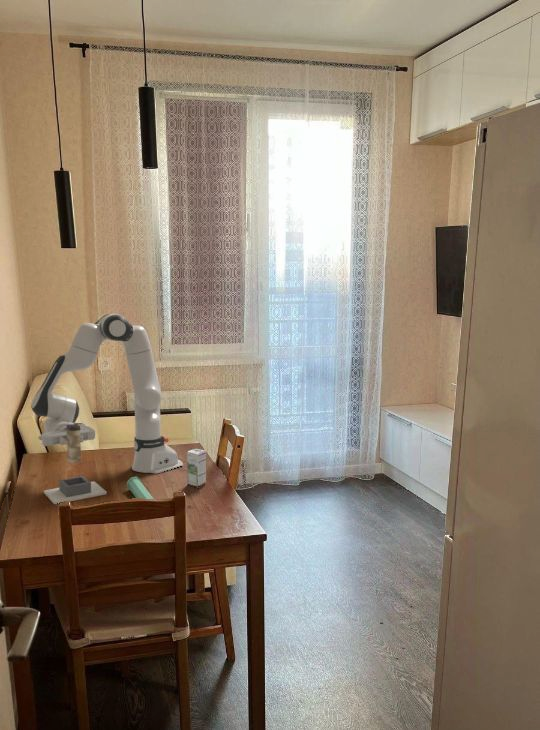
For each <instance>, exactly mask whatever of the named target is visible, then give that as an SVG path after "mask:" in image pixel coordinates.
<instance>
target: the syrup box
mask: <svg viewBox="0 0 540 730" xmlns="http://www.w3.org/2000/svg"><path fill="white" fill-rule="evenodd" d="M186 454H187V455H186V457H187V458H186V460H187V462H186V463H187V466H186V467H187V471H186V472H187V473H186V474H187V479H186V480H187V482H186V483H187V484H191V485H196V486H198V485H200V484H202V483H204V482H206V483H207V451H206V450H204V449H199V448H193V449H190V450H188V451H186Z"/></svg>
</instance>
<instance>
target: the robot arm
mask: <svg viewBox="0 0 540 730" xmlns="http://www.w3.org/2000/svg"><path fill="white" fill-rule="evenodd" d="M106 340H109V341H110V340H111V341H115V342H122V344H123V346H124V351H125V355H126V361H127V365H128V370H129V374H130V379H131V383H132V387H133V395H134V397H133V399H134V402H133V403H134V421H135V422H134V426H135V427H134V428H135V429H134V431H135V432H134V434H135V436H134V440H133V441H134V444H133V446H134V447H133V448H134V456H133V462H132V467H131V469H132V471H134V472H139V473H144V474H145V473H147V474H149V473H150V474H160V473H161V474H162V473H165V472H168V471H171V469H172V470H175V469H174V468H176V469H178V468H177V467H179V468H181V467H180V466H182V467H184V463H183V461H181V460H180V459H178V453H177V451H176V450H174V449H173V448H172V447H170V446H169V445H167V444H166V443H168V442H170V441H169V440H170V439H169V438H168V437H167V436H165V437H164V436H163V435H162V430H161V429H162V427H161V426H162V425H161V424H162V423H161V422H162V421H161V420H162V419H161V402H162V398H163V395H162V389H161V386H160V385H161V384H160V380H159V377H158V373H157V367H156V363H155V358H154V354H153V349H152V345H151V341H150V338H149V335H148V332H147V330H146V329H145V328H144V327H143V326H141V325H137V324H136V325H132V324H131V323H130V322H129V321H128V319H126V317H124V316H122V315H120V314H118V313H107V314H105V315H103V316H102V317H100V318H99V320H96V322H95V323H92V322H84V323H82V324H81V325H80V326H79V328H78V329H77V332H76V333H75V335H74V337H73V340H72V342H71V345H70V348H69V349H68V350H67V351H66V353H64V354H63V355H59V356H58V357H57V359H56V360H55V361H54V362H53V364H52V366H51V368H50V370H49V372H48V373H47V374H46V377H45V379H44V381H43V382H42V384H41V386H40V388H39V389H38V391H37V392H36V394H35V395H34V397H33V398H32V401H31V405H30V408H31V410H32V412H33V413H34V414H35V415H36V416H38V417H46V419H45V420H44V424H43V428H44V432H42V433H41V435H38V436H37V438H38V440H40V441H41V444H42V445H43V446H44V447H45V446H46V447H48V446H49V447H50V446H56V445H57V446H58V445H62V446H67V444H69V440H68V439H67V425H73V424H78V425H79V426H80V439H81V443H84V442H85V441H90V440H91V441H92V440H95V439H96V430H94V429H95V428H94V429H93V428H92V427H90V426H88V425H86V423H84V422H76V421H78V417H79V415H80V406H79V403H78V401H77V399H75V398H73V397H68V396H65V395H64V396H63V395H59V394H56V393H53V390H54V389H55V387H56V386H57V384H58V382H59V380H60V378H61V377H62V375H64V374H65V373H68V372H75V371H76V372H77V371H83V370H87V369H89V368H90V367H92V366H93V364H94V363H95V361H96V359H97V357H98V353H99V350H100V347H101V346H102V343H103V342H104V341H106ZM167 470H168V471H167ZM164 471H165V472H164Z"/></svg>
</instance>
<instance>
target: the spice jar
mask: <svg viewBox="0 0 540 730" xmlns="http://www.w3.org/2000/svg"><path fill="white" fill-rule="evenodd" d="M67 439H68V440H69V444H67V445H66V454H67V455H66V460H67V462H68V463H70V464H73V463H80V462H82V448H81V447H82V446H81V445H82V444H81V443H82V442H81V439H80V426H79V425H78V424H73V425H67Z"/></svg>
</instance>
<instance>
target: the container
mask: <svg viewBox="0 0 540 730" xmlns="http://www.w3.org/2000/svg"><path fill="white" fill-rule="evenodd" d="M126 487H127V489H128V490H130V492H131V493H132V494H133V496H134V497H135V499H136V498H143V499H154V497H153V496H152V495H151V493H150V492H149V490H147V488H146V487H145V486H144V484H143V483H142V480H141V479H140V478H139V477H138V476H133V477H130V478H129V479H128V480H127V482H126Z"/></svg>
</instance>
